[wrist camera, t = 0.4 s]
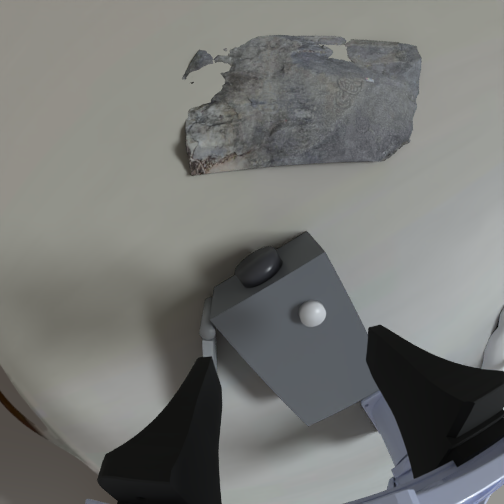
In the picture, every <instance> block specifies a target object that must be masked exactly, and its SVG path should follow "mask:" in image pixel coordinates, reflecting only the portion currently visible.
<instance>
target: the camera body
mask: <svg viewBox="0 0 504 504" xmlns="http://www.w3.org/2000/svg"><path fill="white" fill-rule="evenodd" d="M210 321H211V322H212V323H213V324H214V325H215V327H216V328H217V329H218V330H219V331H220V332H221V334H222V335H223V336H224V337H225V338H226V339H227V341H228V342H229V343H230V344H231V345H232V346H233V347H234V349H235V350H236V351H237V352H238V353H239V354H240V355H241V357H242V358H243V359H244V360H245V361H246V362H247V363H248V364H249V365H250V367H251V368H252V369H253V370H254V371H255V372H256V373H257V374H258V375H259V376H260V377H261V379H262V380H263V381H264V382H265V383H266V384H267V385H268V386H269V387H270V388H271V389H272V390H273V391H274V392H275V393H276V395H277V396H278V397H279V398H280V399H281V400H282V401H283V402H284V403H285V404H286V405H287V406H288V407H289V408H290V409H291V410H292V411H293V412H294V413H295V414H296V415H297V416H298V417H299V418H300V419H301V420H302V421H303V422H304V423H305V424H306V425H307V426H310V425H312V424H314V423H317V422H319V421H321V420H323V419H325V418H327V417H329V416H331V415H333V414H335V413H337V412H339V411H341V410H343V409H345V408H347V407H349V406H351V405H353V404H355V403H357V402H358V401H360V400H362V399H364V398H366V397H367V396H369V395H371V394H373V393H374V392H376V391H378V390H379V388H378V386H377V385H376V383H375V381H374V379H373V377H372V375H371V373H370V370H369V368H368V365H367V362H366V354H367V342H368V334H367V332H366V330H365V328H364V326H363V324H362V322H361V320H360V318H359V316H358V314H357V312H356V310H355V308H354V306H353V304H352V302H351V300H350V298H349V296H348V294H347V292H346V290H345V288H344V286H343V284H342V282H341V280H340V279H339V277H338V275H337V273H336V271H335V269H334V267H333V265H332V264H331V262H330V260H329V258H328V256H327V254H326V253H325V251H324V250H323V249H322V248H321V246H320V245H319V244H318V243H317V242H316V241H315V240H314V238H313V237H312V236H311V235H310V234H309V233H308V232H307V231H306V232H305V233H303V234H302V235H300V236H298V237H297V238H295V239H293V240H292V241H290V242H288V243H287V244H285V245H284V246H282V247H280V248H279V249H277V250H275V249H274V247H272V246H268V247H264V248H261V249H259V250H257V251H255V252H254V253H252V254H250V255H249V256H248V257H246V258H245V259H244V260H243V261H242V262H241V263H240V264H239V265H238V266H237V268H236V269H235V275H234V276H233V277H231V278H229V279H228V280H226V281H224V282H223V283H221V284H219V285H218V286H216V287H214V292H213V299H212V307H211V315H210Z"/></svg>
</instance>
